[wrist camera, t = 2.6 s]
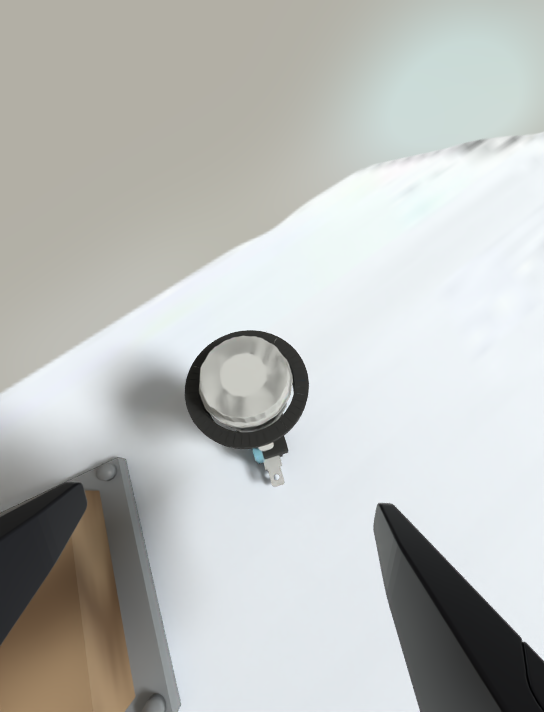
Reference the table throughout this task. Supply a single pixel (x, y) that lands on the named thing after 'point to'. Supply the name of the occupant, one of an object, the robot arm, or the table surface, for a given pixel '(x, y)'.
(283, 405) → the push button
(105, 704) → the tan flat square block
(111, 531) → the base plate
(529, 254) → the table surface
